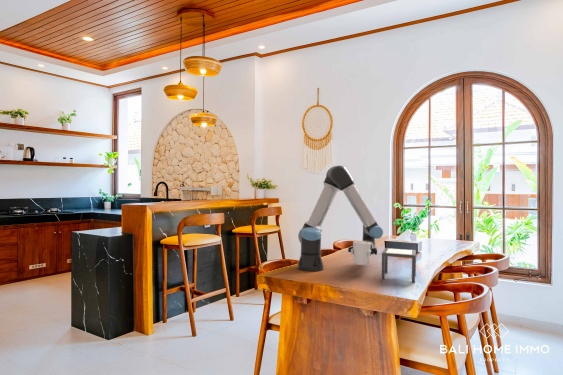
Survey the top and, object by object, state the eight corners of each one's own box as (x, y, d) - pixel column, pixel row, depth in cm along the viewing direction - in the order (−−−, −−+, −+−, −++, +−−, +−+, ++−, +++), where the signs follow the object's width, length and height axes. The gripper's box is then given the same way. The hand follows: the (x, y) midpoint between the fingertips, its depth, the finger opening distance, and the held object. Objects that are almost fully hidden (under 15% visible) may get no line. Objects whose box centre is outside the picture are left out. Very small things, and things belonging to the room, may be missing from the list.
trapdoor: (385, 254, 204) (385, 252, 204) (388, 250, 217) (388, 248, 217) (411, 256, 199) (411, 254, 199) (412, 252, 212) (412, 250, 212)
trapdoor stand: (381, 279, 203) (381, 252, 203) (384, 272, 219) (385, 247, 219) (414, 282, 197) (415, 255, 197) (415, 275, 214) (416, 249, 214)
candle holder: (370, 265, 210) (371, 243, 210) (352, 264, 212) (352, 242, 212) (369, 262, 219) (370, 241, 219) (352, 261, 221) (353, 240, 221)
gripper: (384, 255, 229) (380, 261, 208) (348, 251, 236) (340, 257, 215) (384, 242, 229) (380, 248, 208) (348, 239, 236) (341, 244, 215)
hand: (360, 253), depth 211 cm, fingers closed on candle holder, 9 cm apart
